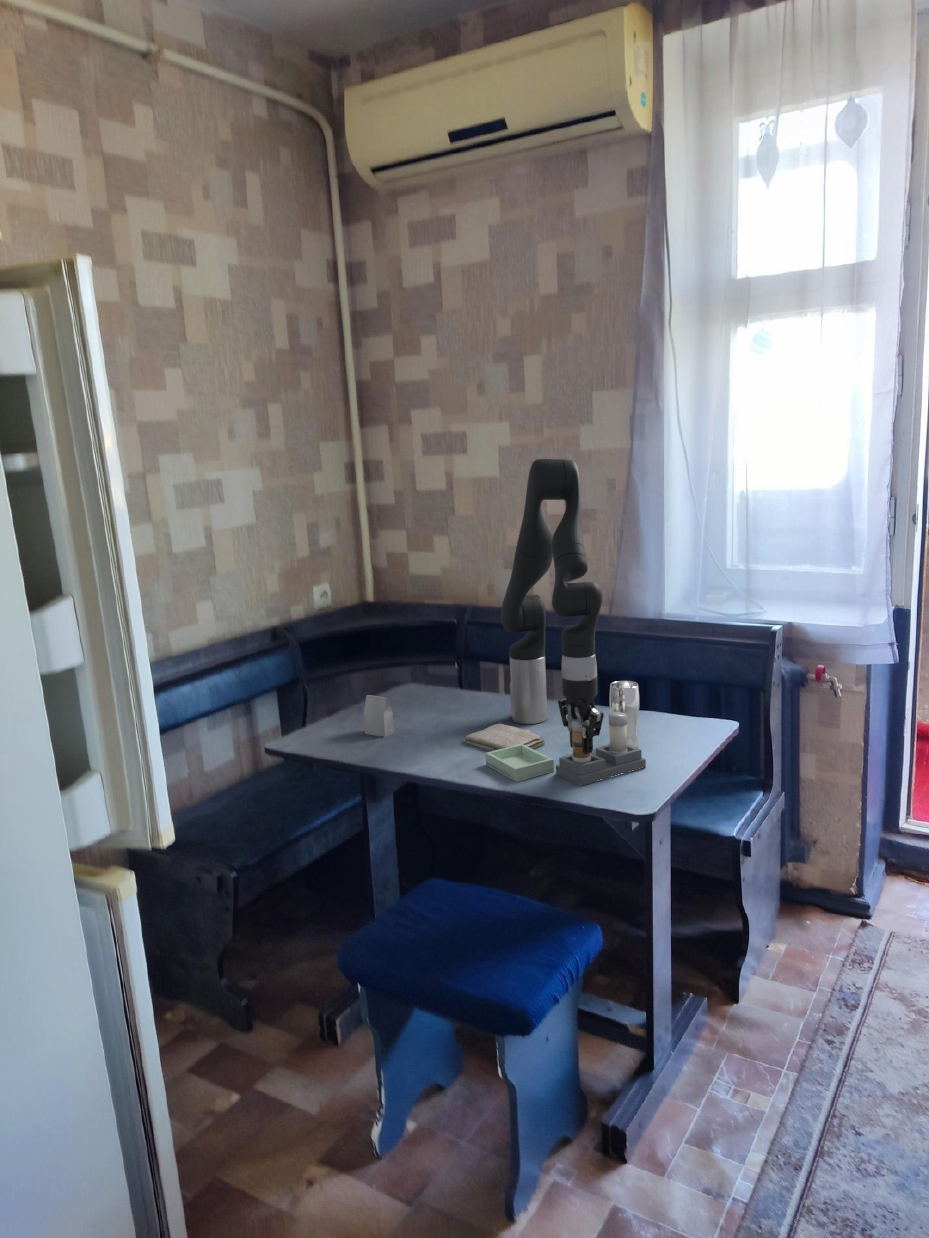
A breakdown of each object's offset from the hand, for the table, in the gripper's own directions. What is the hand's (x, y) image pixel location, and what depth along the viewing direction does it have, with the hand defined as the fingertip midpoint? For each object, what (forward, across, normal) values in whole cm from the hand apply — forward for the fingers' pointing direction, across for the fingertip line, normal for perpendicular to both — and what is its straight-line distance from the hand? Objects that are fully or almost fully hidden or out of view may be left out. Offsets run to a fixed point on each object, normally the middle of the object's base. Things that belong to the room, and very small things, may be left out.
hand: (581, 749), depth 198 cm
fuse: (+4, 0, +10) cm, 11 cm away
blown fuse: (+3, 0, 0) cm, 3 cm away
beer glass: (+6, -10, +20) cm, 23 cm away
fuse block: (+6, 0, +5) cm, 8 cm away
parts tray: (+6, -12, -8) cm, 16 cm away
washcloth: (+7, -29, -2) cm, 30 cm away
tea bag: (+7, -56, -24) cm, 61 cm away
